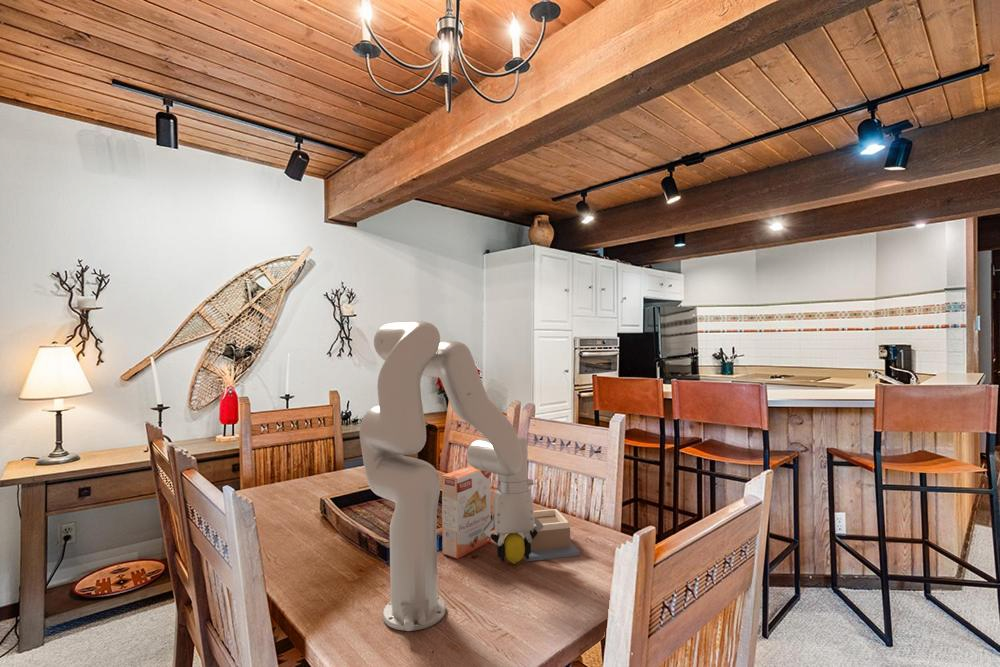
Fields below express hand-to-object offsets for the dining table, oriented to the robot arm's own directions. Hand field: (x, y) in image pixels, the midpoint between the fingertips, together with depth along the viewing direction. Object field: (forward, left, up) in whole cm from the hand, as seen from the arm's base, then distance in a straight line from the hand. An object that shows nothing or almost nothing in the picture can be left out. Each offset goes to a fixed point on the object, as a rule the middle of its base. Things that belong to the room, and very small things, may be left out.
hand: (514, 557), depth 123 cm
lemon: (0, 0, -2) cm, 2 cm away
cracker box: (+12, +10, -2) cm, 16 cm away
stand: (+9, -10, -1) cm, 14 cm away
